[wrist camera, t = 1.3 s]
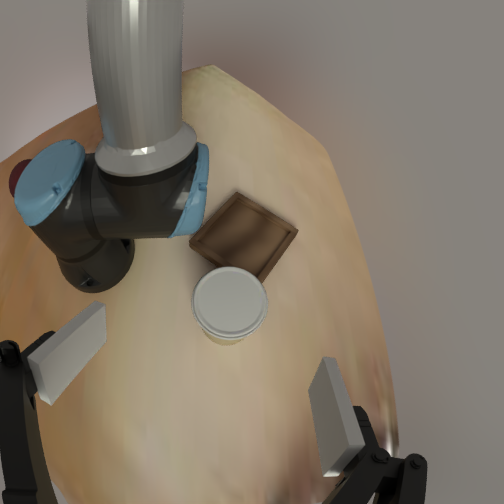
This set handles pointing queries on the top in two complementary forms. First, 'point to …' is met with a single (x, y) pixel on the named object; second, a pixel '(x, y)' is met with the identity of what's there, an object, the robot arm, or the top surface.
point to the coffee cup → (229, 304)
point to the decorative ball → (17, 175)
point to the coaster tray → (244, 237)
